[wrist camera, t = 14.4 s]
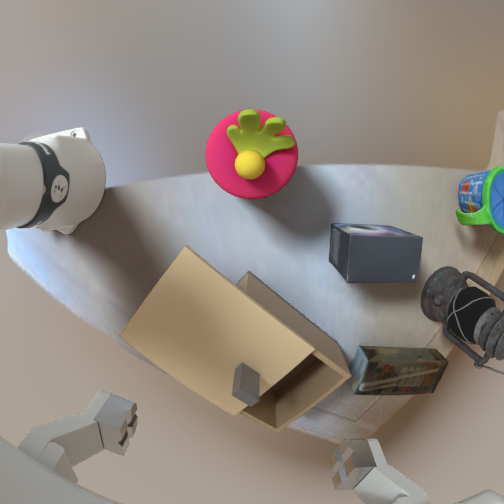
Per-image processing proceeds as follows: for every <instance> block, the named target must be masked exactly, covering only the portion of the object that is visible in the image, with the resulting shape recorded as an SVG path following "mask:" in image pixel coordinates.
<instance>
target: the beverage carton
mask: <svg viewBox="0 0 504 504" xmlns="http://www.w3.org/2000/svg"><path fill="white" fill-rule="evenodd" d="M447 365H448V361H447V360H446V359H445V357H444V356H442V355H441V353H439V352H438V351H437V350H436V349H424V348H395V347H377V346H358V349H357V352H356V355H355V357H354V360H353V362H352V365H351V367H350V370H349V371H350V373H351V375H352V376H351V377H350V378H349V379H348V383H349V385H350V387H351V389H352V393H353V394H358V395H410V394H424V393H433V392H434V390H435V388H436V386H437V384H438V382H439V381H440V379H441V377H442V374H443V372H444V370H445V369H446V367H447Z"/></svg>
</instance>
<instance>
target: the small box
mask: <svg viewBox="0 0 504 504" xmlns="http://www.w3.org/2000/svg"><path fill="white" fill-rule="evenodd" d="M422 243H423V237H420V236H417V235H415V234H412V233H409V232H406V231H403V230H401V229H398V228H395V227H392V226H384V225H366V224H342V223H332V224H331V237H330V252H329V262H330V263H331V264H332V265H333V266H334V267H335V268H336V269H337V270H338V272H339V273H340V274H341V275H342V276H343V277H344V279H345V281H346V282H347V283H392V282H417V281H418V275H419V268H420V260H421V252H422Z"/></svg>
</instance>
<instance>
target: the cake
mask: <svg viewBox="0 0 504 504" xmlns="http://www.w3.org/2000/svg"><path fill="white" fill-rule="evenodd" d="M297 160H298V147H297V143H296V140H295V137H294V135H293V133H292V131H291V130H290V128H289V127H288V126H287V125H286V122H285V120H284V119H282V118H280V117H277V116H275V115H273V114H271V113H268V112H265V111H261V110H252V109H247V110H243V111H239V112H235V113H233V114H231V115H229V116H227V117H226V118H224V119H223V120H222V121H220V122H219V124H217V126H216V127H215V128H214V130H213V131H212V133H211V134H210V137H209V139H208V142H207V146H206V163H207V167H208V170H209V172H210V174H211V176H212V178H213V179H214V181H215V182H216V183H217V184H218V185H219V186H220V187H221V188H222V189H223V190H225V191H226V192H228V193H230V194H232V195H234V196H237V197H240V198H245V199H258V198H263V197H264V198H266V197H267V196H269V195H272V194H274V193H276V192H277V191H279V190H281V189H282V188H283V187H284V186H285V185H286V184H287V183H288V181H289V180H290V179H291V177H292V175H293V173H294V171H295V169H296V166H297Z"/></svg>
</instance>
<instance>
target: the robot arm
mask: <svg viewBox="0 0 504 504" xmlns="http://www.w3.org/2000/svg"><path fill="white" fill-rule="evenodd" d="M75 134H76V137H75ZM105 183H106V173H105V166H104V162H103V159H102V157H101V155H100V153H99V152H98V150H97V149H96V148H95V147H94V146H93V144H92V143H91V141H90V138H89V134H88V132H87V130H86V129H85V128H75V129H71V130H67V131H62V132H58V133H54V134H50V135H46V136H42V137H38V138H35V139H31V140H30V141H29V142H22V143H19V144H2V143H0V232H1V231H4V230H8V229H11V228H15V227H16V228H30V227H35V228H40V229H41V230H42V231H51V230H58V231H60V232H62V233H63V234H66V235H67V234H71V233H72V232H73V231H74V230H75V228H76V227H77V225H78V224H79V223H80V222H82V221H83V220H85V219H87V218H88V217H89V216H91V215H92V214H93V213H94V211H95V210H96V209H97V207H98V206H99V204H100V202H101V200H102V197H103V194H104V190H105ZM136 410H137V404H136V403H135V402H132V401H129V400H127V399H124V398H122V397H119V396H116V395H114V394H112V393H109V392H107V391H104V390H102V389H101V390H99V391H98V392H97V394H96V395H95V396H94V398H93V399H92V401H91V402H90V404H89V405H88V406H87V408H86V409H85V411H84V412H83V414H80V413H77V414H75V415H72V416H69V417H66V418H63V419H60V420H57V421H54V422H51V423H47V424H44V425H41V426H38V427H34V428H32V429H31V431H30V432H29V433H28V434H27V436H26V437H25V438H24V440H23V441H22V442H21V443H20V445H19V446H18V447H17V448H16V447H15V446H13V445H12V444H10V443H9V442H8V441H7V440H5V439H4V438H3V437H2V436H0V504H121V503H119V502H116V501H113V500H111V499H109V498H106V497H104V496H101V495H99V494H97V493H95V492H92V491H90V490H88V489H86V488H84V487H82V486H80V485H78V484H77V482H78V479H77V476H76V475H75V472H74V470H73V468H72V467H73V466H75V465H77V464H78V463H80V462H82V461H84V460H86V459H88V458H90V457H91V456H93V455H95V454H97V453H99V452H100V451H102V450H104V449H106V450H109V451H111V452H114V453H117V454H119V455H122V456H124V454H125V452H126V450H127V448H128V446H129V438H131V437H133V435H134V433H135V430H136V426H137V415H136V414H135V412H136ZM339 447H340V448H338V449H337V450H335V451H334V452H333V454H332V456H331V459H330V469H331V471H332V472H333V473H335V475H334V476H333V478H332V479H333V484H334V489H335V490H349V489H353V491H354V492H355V493H356V494H357V496H358V497H359V498H360V499H361V500H362V501H363V502H364V503H365V504H430V502H429V499H428V497H427V494H426V492H425V491H424V490H423V489H421V488H420V487H418V486H417V485H416V484H415V483H413V482H412V481H410V480H409V479H408V478H406V477H405V476H404V475H402V474H401V473H400V472H398V471H397V470H396V469H395V468H393V467H392V466H388V465H387V462H386V460H385V457H384V454H383V452H382V449H381V447H380V444H379V442H378V440H377V439H344V440H342V441H341V442H340V444H339ZM103 448H104V449H103ZM455 504H504V496H502V495H501V494H499V493H497V492H495V491H493V490H485V491H482V492H480V493H478V494H476V495H474V496H471V497H469V498H467V499H464V500H462V501H460V502H457V503H455Z"/></svg>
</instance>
